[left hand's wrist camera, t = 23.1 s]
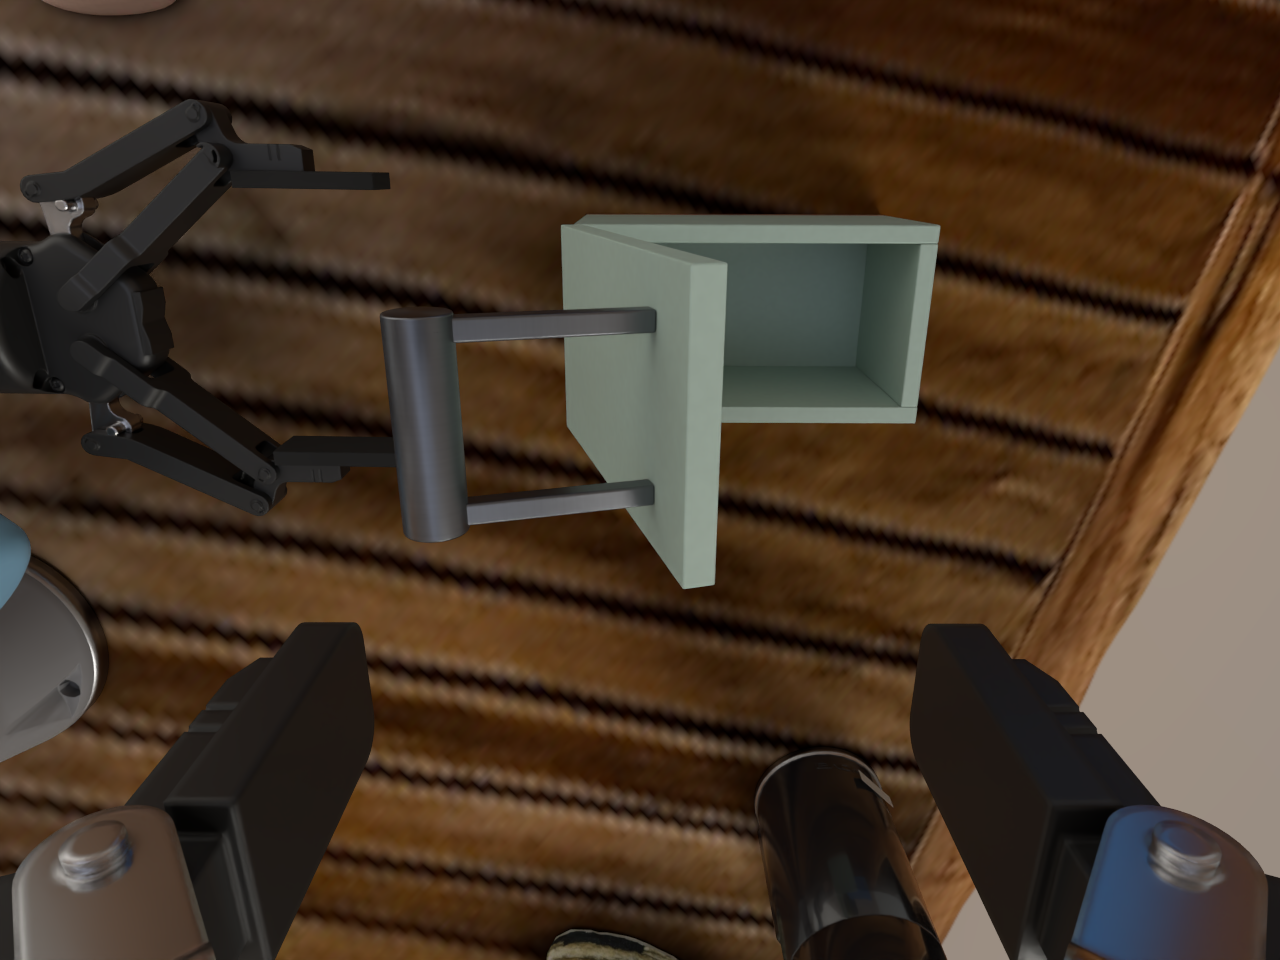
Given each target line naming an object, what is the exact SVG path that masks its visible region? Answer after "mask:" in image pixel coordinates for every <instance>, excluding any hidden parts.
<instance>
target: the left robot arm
mask: <svg viewBox="0 0 1280 960" xmlns="http://www.w3.org/2000/svg"><path fill="white" fill-rule="evenodd" d="M373 735H374V711H373V704H372V696H371V689H370V682H369V675H368V668H367V661H366V654H365V646H364V639H363V634H362V631H361V628H360V627H359V625H358V624H357V623H354V622H304V623H301V624H299V625H298V626H297V627H296V628H295V630H294V631H293V632H292V634H291V635H290V636H289V638H288V639H287V640H286V642H285V643H284V644H283V645H282V647H281V648H280V649H279V651H278V652H277V653H276V655H275V656H274V657H273V658H259V659H257V660H256V661H254V662H253V663H251V664H250V665H248V666H247V667H245V668H244V669H242V670H241V671H239V672H238V673H236V674H235V675H233V676H232V677H230V678H229V679H227V681H226V682H225V683H224V684H223V685H222V687H221V688H220V689H219V690H218V692H217V693H216V694H215V695H214V696H213V698H212V699H211V700H210V701H209V703H208V704H207V705H206V710H202V711H201V712H200V714H199V715H198V716H197V717H196V718H195V720H194V721H193V722H192V723H191V725H190V726H189V731H188V732H184V733H183V734H182V736H181V737H180V738H179V739H178V740H177V742H176V743H175V744H174V745H173V747H172V748H171V749H170V750H169V751H168V753H167V754H166V755H165V756H164V758H163V759H162V760H161V761H160V762H159V764H158V765H157V766H156V767H155V769H154V770H153V771H152V772H151V773H150V775H149V776H148V777H147V778H146V780H145V781H144V782H143V783H142V784H141V786H140V787H139V788H138V789H137V791H136V792H135V793H134V794H133V795H132V797H131V798H130V799H129V800H128V802H127V803H126V804H125V805H124V806H119V807H114V808H109V809H105V810H102V811H99V812H96V813H93V814H90V815H88V816H85V817H83V818H80V819H78V820H76V821H74V822H72V823H70V824H68V825H66V826H65V827H63V828H61V829H60V830H58V831H57V832H55V833H53V834H52V835H50V836H49V837H48V838H47V839H45V840H44V841H43V842H41V843H40V844H39V845H38V846H37V847H36V848H35V849H34V850H33V851H31V852H30V854H29V855H28V856H27V857H26V858H25V859H24V861H23V862H22V863H21V865H20V867H19V868H18V870H17V871H16V873H13V874H10V875H5V876H1V877H0V960H275V958H276V956H277V954H278V952H279V950H280V947H281V945H282V943H283V941H284V939H285V937H286V934H287V932H288V930H289V928H290V926H291V924H292V922H293V919H294V917H295V915H296V913H297V911H298V909H299V907H300V904H301V902H302V900H303V898H304V896H305V894H306V891H307V889H308V887H309V885H310V883H311V881H312V879H313V876H314V874H315V872H316V870H317V868H318V866H319V864H320V861H321V859H322V857H323V855H324V853H325V851H326V849H327V846H328V844H329V842H330V840H331V838H332V836H333V833H334V831H335V829H336V827H337V825H338V823H339V821H340V818H341V816H342V814H343V812H344V810H345V808H346V806H347V803H348V801H349V799H350V797H351V795H352V793H353V791H354V788H355V786H356V784H357V782H358V780H359V778H360V775H361V773H362V771H363V769H364V767H365V765H366V763H367V760H368V758H369V755H370V751H371V747H372V742H373ZM910 736H911V743H912V749H913V753H914V756H915V759H916V762H917V764H918V766H919V768H920V770H921V772H922V775H923V777H924V779H925V781H926V783H927V785H928V787H929V789H930V792H931V794H932V796H933V798H934V800H935V802H936V804H937V806H938V809H939V811H940V813H941V815H942V817H943V819H944V821H945V823H946V825H947V828H948V830H949V832H950V834H951V836H952V838H953V840H954V842H955V845H956V847H957V849H958V851H959V853H960V855H961V857H962V859H963V862H964V864H965V866H966V868H967V870H968V872H969V874H970V876H971V879H972V881H973V883H974V885H975V887H976V889H977V891H978V893H979V895H980V898H981V900H982V902H983V904H984V906H985V908H986V910H987V912H988V915H989V917H990V919H991V921H992V923H993V925H994V927H995V929H996V932H997V934H998V936H999V938H1000V940H1001V942H1002V944H1003V946H1004V949H1005V951H1006V953H1007V955H1008V957H1009V959H1010V960H1280V878H1278V877H1274V876H1270V875H1266V874H1264V871H1263V870H1262V868H1261V867H1260V865H1259V863H1258V862H1257V861H1256V859H1255V858H1254V857H1253V856H1252V855H1251V854H1250V852H1249V851H1247V850H1246V849H1245V848H1244V847H1243V846H1242V845H1241V844H1240V843H1239V842H1237V841H1236V840H1235V839H1233V838H1232V837H1231V836H1230V835H1228V834H1227V833H1225V832H1223V831H1222V830H1220V829H1219V828H1217V827H1215V826H1213V825H1212V824H1210V823H1208V822H1206V821H1204V820H1202V819H1199V818H1197V817H1195V816H1192V815H1190V814H1187V813H1184V812H1181V811H1178V810H1174V809H1171V808H1166V807H1161V806H1160V804H1159V803H1158V802H1157V801H1156V800H1155V798H1154V797H1153V796H1152V795H1151V794H1150V792H1149V791H1148V790H1147V789H1146V788H1145V786H1144V785H1143V784H1142V783H1141V781H1140V780H1139V779H1138V778H1137V777H1136V775H1135V774H1134V773H1133V772H1132V770H1131V769H1130V768H1129V767H1128V766H1127V764H1126V763H1125V762H1124V761H1123V760H1122V758H1121V757H1120V756H1119V755H1118V754H1117V752H1116V751H1115V750H1114V749H1113V747H1112V746H1111V745H1110V744H1109V743H1108V741H1107V740H1106V739H1105V738H1104V737H1103V735H1102V734H1097V728H1096V727H1095V726H1094V724H1093V723H1092V722H1091V721H1090V720H1089V718H1088V717H1087V716H1086V715H1085V714H1084V712H1080V711H1079V706H1078V705H1077V704H1076V703H1075V701H1074V700H1073V699H1072V698H1071V697H1070V695H1069V694H1068V693H1067V692H1066V691H1065V689H1064V688H1063V687H1062V686H1061V684H1060V683H1059V682H1058V681H1057V680H1055V679H1054V678H1052V677H1051V676H1049V675H1048V674H1046V673H1045V672H1043V671H1042V670H1040V669H1039V668H1037V667H1036V666H1034V665H1033V664H1031V663H1030V662H1028V661H1027V660H1025V659H1011V658H1010V656H1009V655H1008V654H1007V652H1006V651H1005V650H1004V648H1003V647H1002V646H1001V645H1000V643H999V642H998V641H997V639H996V638H995V637H994V635H993V634H992V633H991V631H990V630H989V629H988V628H987V627H986V626H985V625H983V624H928V625H927V626H926V627H925V628H924V630H923V633H922V637H921V642H920V649H919V656H918V663H917V670H916V677H915V684H914V692H913V699H912V706H911V713H910ZM885 801H887V802H888V803H889V804H890V805H891V806H892V807H893V805H892V802H891V800H890V797H889V796H888V795H887V794H885V793H884V792H883V791H882V788H881V785H880V783H879V780H878V778H877V775H876V774H875V772H874V770H873V769H872V768H871V767H870V766H869V764H868V763H867V762H865V761H864V760H863V759H861V758H860V757H858V756H857V755H855V754H853V753H851V752H848V751H845V750H842V749H838V748H832V747H813V748H806V749H802V750H798V751H796V752H793V753H790V754H788V755H786V756H784V757H783V758H781V759H779V760H778V761H776V762H775V763H774V764H773V765H771V766H770V767H769V768H768V769H767V770H766V772H765V773H764V774H763V776H762V777H761V779H760V780H759V782H758V785H757V787H756V790H755V795H754V807H755V813H756V817H757V821H758V823H759V827H760V828H759V830H758V838H759V843H760V849H761V855H762V860H763V866H764V871H765V877H766V883H767V888H768V894H769V899H770V905H771V910H772V916H773V922H774V927H775V933H776V938H777V940H778V941H779V943H780V944H781V947H782V953H783V958H784V960H947V958H946V955H945V953H944V951H943V948H942V946H941V943H940V940H939V938H938V935H937V933H936V930H935V928H934V925H933V923H932V920H931V917H930V915H929V912H928V910H927V907H926V905H925V902H924V899H923V897H922V894H921V892H920V889H919V887H918V884H917V882H916V879H915V876H914V874H913V871H912V869H911V866H910V864H909V861H908V858H907V856H906V853H905V851H904V848H903V846H902V843H901V840H900V838H899V835H898V833H897V830H896V828H895V825H894V823H893V820H892V817H891V815H890V812H889V809H888V807H887V804H886V802H885Z"/></svg>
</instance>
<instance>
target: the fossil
mask: <svg viewBox="0 0 1280 960" xmlns="http://www.w3.org/2000/svg"><path fill="white" fill-rule="evenodd" d="M547 960H678V959H676V958H675V957H674V956H672V955H670V954H668V953H666V952H664V951H662V950H659V949H657V948H655V947H653V946H651V945H649V944H647V943H645V942H642V941H640V940H637V939H635V938H631V937H628V936H623V935H618V934H612V933H607V932H596V931H593V930H577V929H570V930H568V931H566V932H564V933H563V934H561V935H559V936H557V937H556V938H555V940H554V941H553V943H552V945H551V946H550V949H549V951H548V952H547Z"/></svg>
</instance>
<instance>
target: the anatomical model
mask: <svg viewBox="0 0 1280 960" xmlns="http://www.w3.org/2000/svg"><path fill="white" fill-rule="evenodd" d="M42 1H44V2H46V3H48V4H51V5H53V6H55V7H58V8H61V9H64V10H68V11H73V12H78V13H82V14H92V15H130V14H141V13H146V12H152V11H156V10H159V9H163V8H165V7H167V6H169V5H171V4H173V3H174V2H175V1H176V0H42Z"/></svg>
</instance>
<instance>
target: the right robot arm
mask: <svg viewBox="0 0 1280 960" xmlns="http://www.w3.org/2000/svg"><path fill="white" fill-rule="evenodd" d="M231 123H232V116H231V113H230V111H229V110H228V109H227V108H226V107H225V106H223V105H222V104H217V103H212V102H206V101H200V100H193V99H189V100H185V101H184V102H182V103H180V104H178V105H177V106H175V107H173V108H172V109H170V110H168V111H166V112H165V113H163V114H161V115H160V116H158V117H156V118H154V119H153V120H151V121H149V122H148V123H146V124H144V125H143V126H141V127H139V128H137V129H136V130H134V131H132V132H131V133H129V134H127V135H125V136H124V137H122V138H120V139H119V140H117V141H115V142H113V143H112V144H110V145H108V146H107V147H105V148H103V149H101V150H100V151H98V152H96V153H95V154H93V155H91V156H89V157H88V158H86V159H84V160H83V161H81V162H79V163H77V164H76V165H74V166H72V167H71V168H69V169H67V170H65V171H64V172H55V173H45V174H36V175H28V176H25V177H24V178H23V179H22V180H21V183H20V188H21V192H22V193H23V195H24V196H25V197H26V198H27V199H28V200H30V201H32V202H36V203H40V205H41V208H42V211H43V214H44V217H45V220H46V223H47V225H48V228H49V231H50V234H51V235H50V236H48V237H47V238H46V239H44V240H42V241H40V242H27V241H0V393H30V394H70V395H74V396H77V397H79V398H81V399H83V400H85V401H87V402H89V406H90V415H91V424H92V432H90V433H87V434H86V435H84V436H83V437H82V439H81V444H82V447H83V448H84V450H85V451H86V452H88V453H89V454H92V455H97V456H105V457H114V458H122V459H128V460H130V461H132V462H135V463H137V464H139V465H142V466H144V467H146V468H148V469H151V470H153V471H155V472H158V473H160V474H162V475H164V476H167V477H169V478H171V479H173V480H176V481H178V482H180V483H183V484H185V485H187V486H189V487H192V488H194V489H196V490H199V491H201V492H203V493H205V494H208V495H210V496H212V497H214V498H217V499H219V500H221V501H224V502H226V503H228V504H230V505H233V506H235V507H237V508H240V509H242V510H244V511H246V512H249V513H251V514H253V515H257V516H262V515H264V514H266V513H267V512H268V511H269V510H271V509H272V508H273V507H274V506H275V505H276V504H277V503H278V502H279V501H280V500H282V499H283V498H284V497H285V495H286V494H287V488H286V483H287V482H335V481H338V480H340V479H342V478H343V477H344V476H345V475H346V474H347V473H348V472H349V471H350V466H358V467H396V459H395V450H394V441H393V437H337V436H293V437H292V438H290V439H289V440H288V441H286V442H285V443H284V444H282V445H280V444H279V443H277V442H276V441H275V440H273V439H272V438H271V437H269V436H268V435H267V434H265V433H264V432H262V431H261V430H260V429H258V428H257V427H256V426H254V425H253V424H251V423H250V422H249V421H247V420H246V419H245V418H243V417H242V416H241V415H239V414H238V413H236V412H235V411H234V410H232V409H231V408H230V407H228V406H227V405H225V404H224V403H223V402H221V401H220V400H219V399H217V398H216V397H214V396H213V395H212V394H210V393H209V392H208V391H206V390H205V389H204V388H202V387H201V386H199V385H198V384H197V383H195V382H194V381H193V380H192V379H191V375H190V373H189V372H188V371H187V370H185V369H184V368H183V367H181V366H180V365H179V364H177V363H176V362H174V361H173V360H172V359H170V358H169V357H168V354H169V349H171V348H173V347H174V344H173V339H172V334H171V331H170V329H169V327H168V324H167V322H166V320H165V317H164V315H165V297H164V292H163V287H157V285H156V283H155V281H154V280H153V279H152V277H151V276H150V275H149V274H150V273H151V272H152V271H153V270H154V269H155V268H156V267H157V266H158V265H159V264H160V263H161V262H162V261H163V260H164V259H165V258H166V257H167V255H168V250H169V249H170V248H171V247H172V246H173V245H174V244H175V243H176V242H177V241H178V240H179V239H180V238H181V237H182V236H183V235H184V234H185V233H186V232H187V231H188V230H189V229H190V228H191V226H192V225H193V224H194V223H195V222H196V221H197V220H198V219H199V218H200V217H201V216H202V215H203V214H204V213H205V212H206V211H207V210H208V209H209V208H210V207H211V206H212V205H213V204H214V203H215V202H216V201H217V200H218V199H219V198H220V197H221V196H222V195H223V194H224V193H225V192H226V191H227V190H228V189H229V188H230V187H231V186H232V188H288V189H349V190H381V189H390V178H389V173H379V172H318V171H315V166H314V158H313V150H311V149H309V148H307V147H304V146H302V145H292V144H248V143H245V142H244V141H242V140H241V139H240V138H239V137H238V136H237V134H236V133H235V131H234V129H233V127H232V124H231ZM196 147H199V148H202V149H201V150H200V151H199V152H198V153H197V154H196V155H195V156H194V157H193V158H192V159H191V160H190V162H189V163H188V164H187V165H186V166H185V167H184V168H183V169H182V170H181V171H180V172H179V173H178V174H177V175H176V176H175V177H174V178H173V179H172V180H171V182H170V183H169V184H168V185H167V186H166V187H165V188H164V189H163V190H162V191H161V192H160V193H159V194H158V195H157V196H156V197H155V198H154V199H153V200H152V202H151V203H150V204H149V205H148V206H147V207H146V208H145V209H144V210H143V211H142V212H141V213H140V214H139V215H138V216H137V217H136V218H135V219H134V220H133V222H132V223H131V224H130V225H129V226H128V227H127V228H126V229H125V230H124V231H123V232H122V233H121V234H120V235H119V236H117V237H115V238H113V239H111V240H110V241H108V242H107V243H106V244H103V243H101V242H100V241H98V240H97V239H95V238H94V237H92V236H91V235H89V234H86V233H83V232H82V222H83V220H84V219H85V218H87V217H89V216H91V215H92V214H93V213H94V212H95V210H96V209H97V208H98V201H97V200H96V198H102V197H106V196H109V195H112V194H114V193H116V192H119V191H121V190H122V189H124V188H126V187H128V186H129V185H131V184H133V183H135V182H136V181H138V180H140V179H142V178H143V177H145V176H147V175H149V174H150V173H152V172H154V171H156V170H157V169H159V168H161V167H163V166H164V165H166V164H168V163H170V162H171V161H173V160H175V159H177V158H178V157H180V156H182V155H184V154H185V153H187V152H189V151H191V150H192V149H194V148H196ZM149 375H152V376H153V377H154V378H149V377H148V376H149ZM125 394H126V395H128V396H129V397H130V398H132V399H133V400H135V401H136V402H138V403H139V404H141V405H143V406H145V407H151V408H155V409H157V410H158V411H160V412H161V413H162V414H164V415H165V416H167V417H168V418H169V419H171V420H172V421H174V422H175V423H176V424H178V425H179V426H181V427H182V428H183V429H185V430H186V431H188V432H189V433H190V434H192V435H193V436H195V437H196V438H197V439H199V440H200V441H202V442H203V443H204V444H206V445H207V446H209V447H210V448H211V449H213V450H214V451H213V450H211V449H209V448H207V447H204V446H202V445H200V444H198V443H196V442H193V441H191V440H189V439H187V438H184V437H182V436H180V435H178V434H175V433H173V432H171V431H169V430H166V429H164V428H161V427H158V426H155V425H151V424H146V423H143V417H142V416H141V415H139V414H134V413H131V412H128V411H126V410H125V409H124V408H123V407H122V406H121V405H120V403H119V398H120V397H122V396H124V395H125ZM108 667H109V654H108V647H107V642H106V639H105V635H104V632H103V630H102V627H101V625H100V623H99V621H98V619H97V617H96V615H95V613H94V612H93V610H92V608H91V607H90V605H89V604H88V603H87V601H86V600H85V599H84V597H83V596H82V595H81V594H80V593H79V592H78V590H77V589H76V588H75V587H74V586H73V585H72V584H71V583H70V582H69V581H68V580H66V579H65V578H64V577H63V576H62V575H60V574H59V573H58V572H57V571H55V570H54V569H52V568H51V567H50V566H48V565H46V564H45V563H43V562H42V561H40V560H38V559H36V558H35V557H33V556H31V546H30V541H29V539H28V537H27V535H26V533H25V532H24V531H23V530H22V529H21V528H20V527H19V526H18V525H16V524H15V523H13V522H12V521H10V520H9V519H7V518H6V517H4V516H3V515H2V514H0V762H2V761H4V760H6V759H9V758H11V757H13V756H15V755H17V754H19V753H21V752H23V751H26V750H28V749H30V748H32V747H34V746H36V745H38V744H41V743H43V742H45V741H47V740H49V739H51V738H53V737H54V736H56V735H58V734H59V733H61V732H63V731H64V730H66V729H67V728H69V727H70V726H71V725H72V724H73V723H75V722H76V721H77V720H78V719H79V718H80V717H81V716H82V715H83V714H84V713H85V712H86V711H87V710H88V709H89V708H90V707H91V706H92V705H93V704H94V703H95V701H96V700H97V698H98V697H99V696H100V694H101V692H102V690H103V688H104V685H105V682H106V679H107V674H108Z"/></svg>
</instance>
